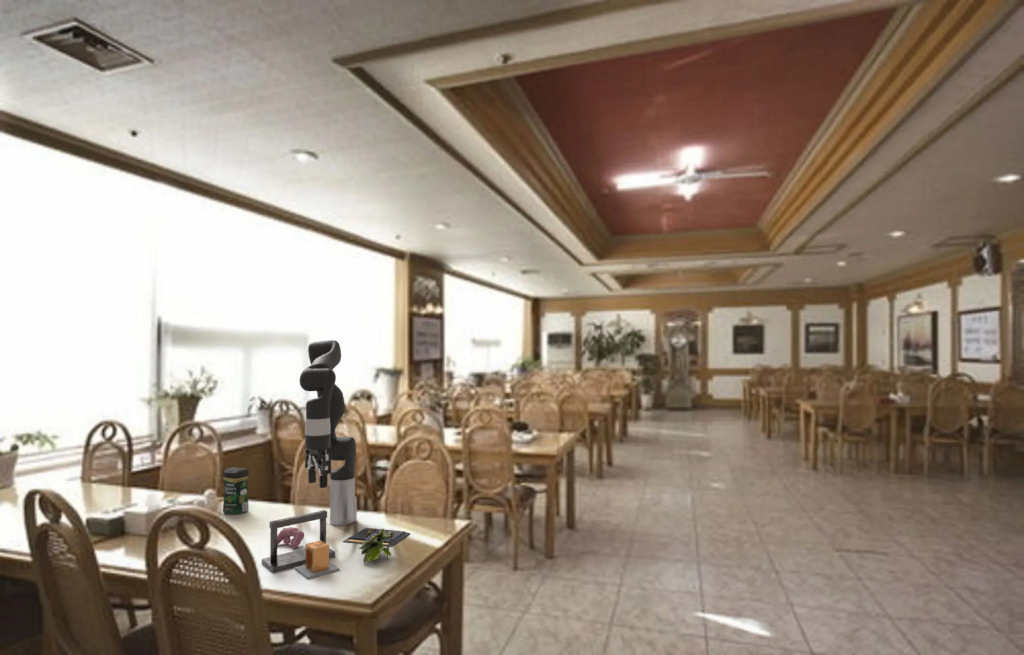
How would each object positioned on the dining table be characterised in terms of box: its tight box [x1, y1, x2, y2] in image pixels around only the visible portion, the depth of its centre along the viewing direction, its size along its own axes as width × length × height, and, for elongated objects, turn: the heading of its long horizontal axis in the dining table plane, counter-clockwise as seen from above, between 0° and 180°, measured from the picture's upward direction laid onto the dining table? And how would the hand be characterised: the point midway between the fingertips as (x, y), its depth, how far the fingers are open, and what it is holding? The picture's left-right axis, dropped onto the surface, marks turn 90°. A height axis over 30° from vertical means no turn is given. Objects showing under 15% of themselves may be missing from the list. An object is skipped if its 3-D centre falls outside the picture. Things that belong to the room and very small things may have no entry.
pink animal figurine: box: [277, 526, 305, 550], centre depth 198 cm, size 10×5×7 cm, turn 68°
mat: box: [294, 561, 340, 580], centre depth 176 cm, size 10×10×1 cm
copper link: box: [305, 539, 330, 573], centre depth 176 cm, size 6×5×7 cm
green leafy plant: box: [358, 528, 394, 565], centre depth 185 cm, size 11×11×12 cm
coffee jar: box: [222, 466, 250, 515], centre depth 238 cm, size 10×8×19 cm
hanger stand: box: [261, 509, 336, 574], centre depth 184 cm, size 10×20×14 cm, turn 132°
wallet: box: [342, 527, 411, 548], centre depth 205 cm, size 20×2×15 cm
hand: (317, 485), depth 177 cm, fingers open, 8 cm apart
